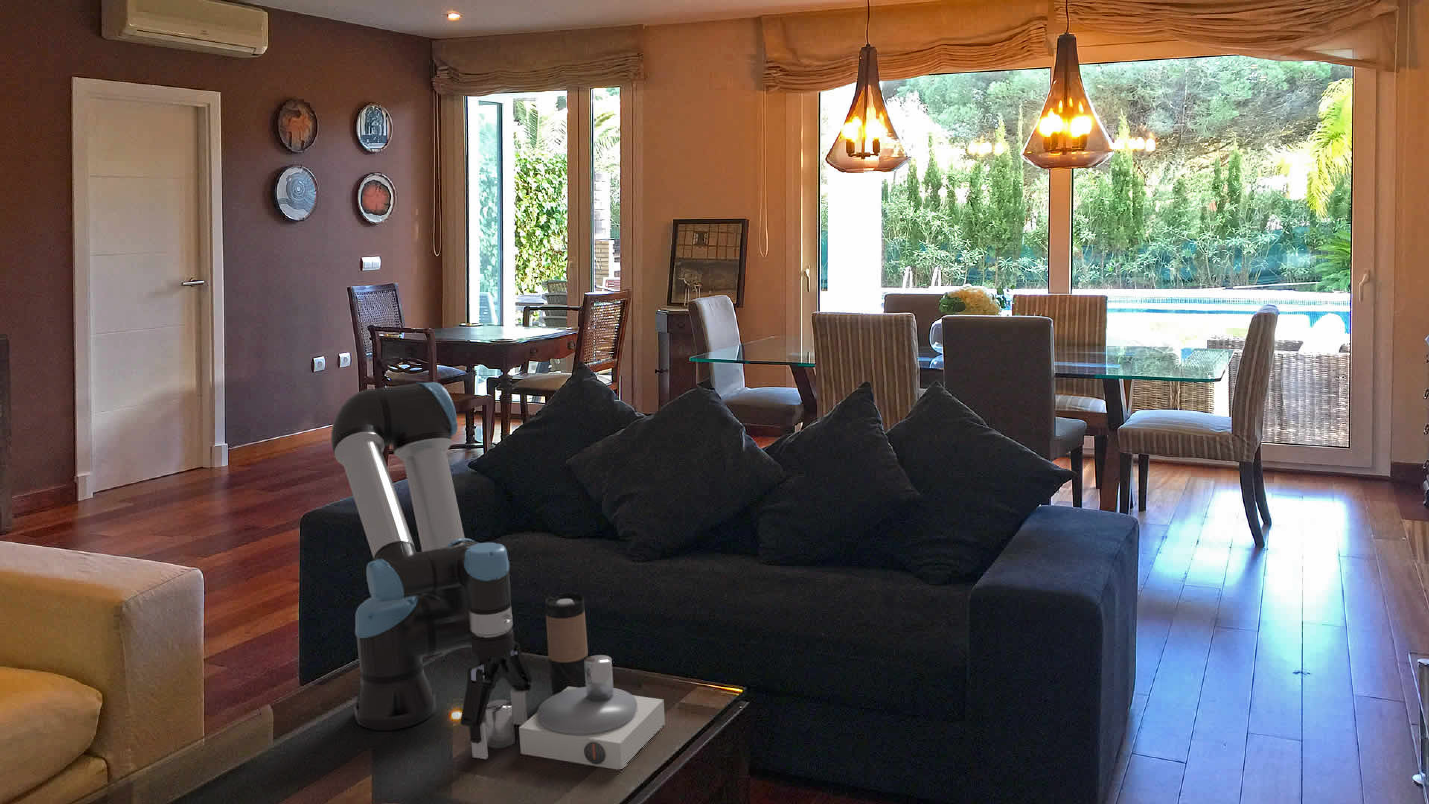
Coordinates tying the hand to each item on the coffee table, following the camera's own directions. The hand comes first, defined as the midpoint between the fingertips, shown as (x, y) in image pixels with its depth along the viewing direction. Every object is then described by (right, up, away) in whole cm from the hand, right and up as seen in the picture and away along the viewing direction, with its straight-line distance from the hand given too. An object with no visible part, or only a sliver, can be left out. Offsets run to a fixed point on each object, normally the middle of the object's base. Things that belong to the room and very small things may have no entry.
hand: (500, 740), depth 221 cm
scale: (+17, 0, -1) cm, 17 cm away
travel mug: (+11, +4, +18) cm, 21 cm away
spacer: (0, 0, 0) cm, 0 cm away
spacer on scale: (+18, +7, +3) cm, 19 cm away
